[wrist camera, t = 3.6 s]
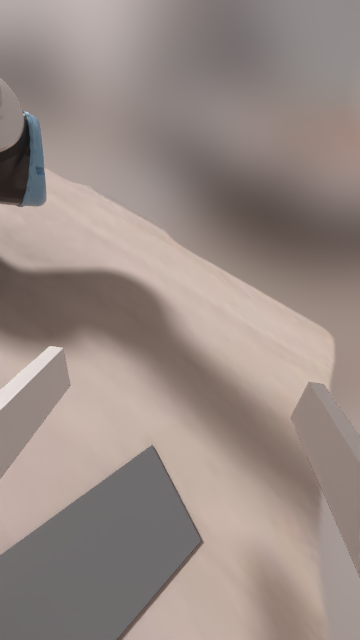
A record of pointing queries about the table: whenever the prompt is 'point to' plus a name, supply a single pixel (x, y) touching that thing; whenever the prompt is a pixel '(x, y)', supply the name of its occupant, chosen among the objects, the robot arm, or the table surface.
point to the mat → (97, 558)
